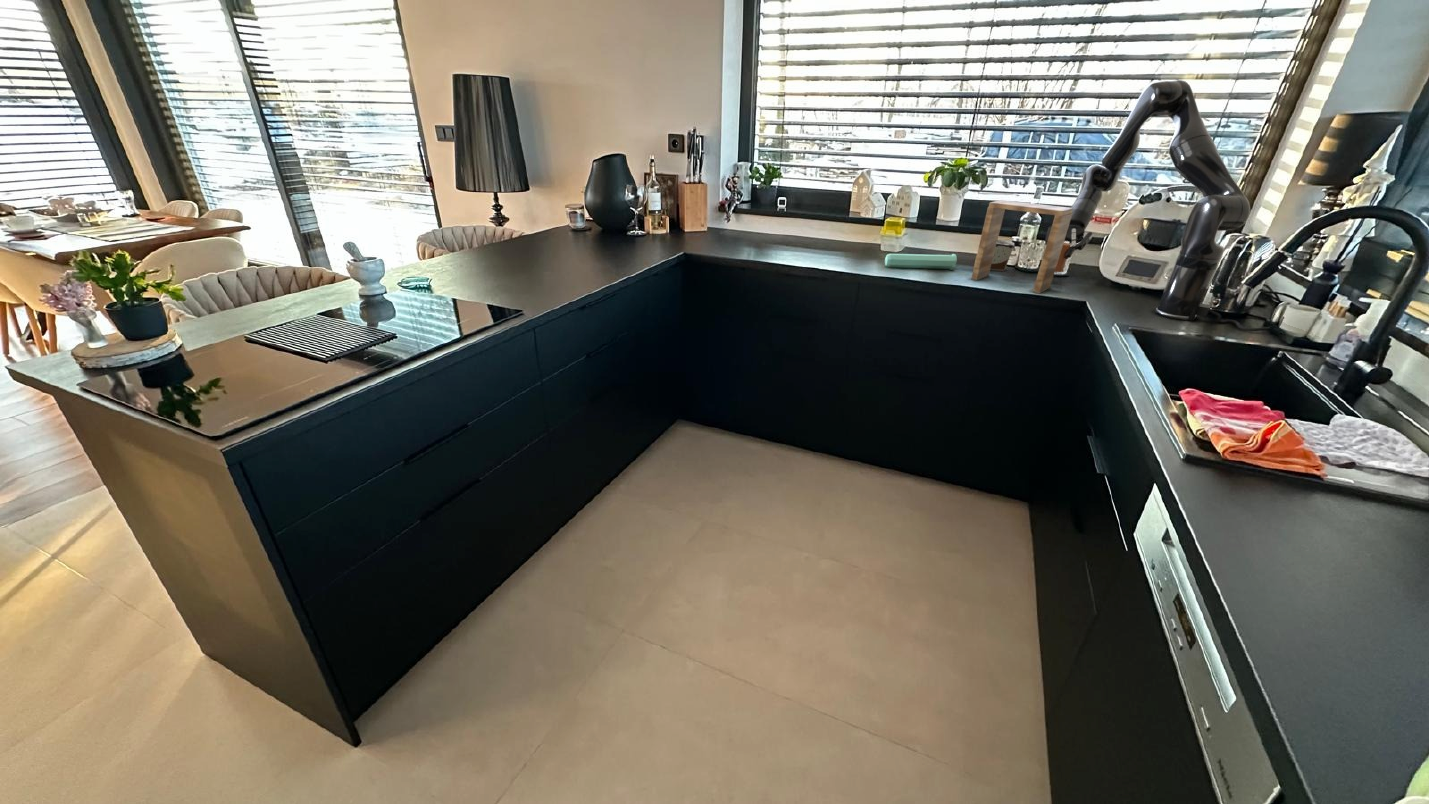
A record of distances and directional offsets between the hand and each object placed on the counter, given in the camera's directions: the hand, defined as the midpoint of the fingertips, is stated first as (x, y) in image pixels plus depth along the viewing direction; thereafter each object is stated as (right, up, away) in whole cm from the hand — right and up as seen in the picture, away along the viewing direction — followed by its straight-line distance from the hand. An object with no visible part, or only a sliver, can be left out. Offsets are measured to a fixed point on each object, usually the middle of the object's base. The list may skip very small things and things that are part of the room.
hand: (1057, 255), depth 189 cm
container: (-41, 0, +18) cm, 45 cm away
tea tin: (+1, -4, +4) cm, 6 cm away
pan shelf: (-16, -9, 0) cm, 19 cm away
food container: (-13, 0, +20) cm, 24 cm away
